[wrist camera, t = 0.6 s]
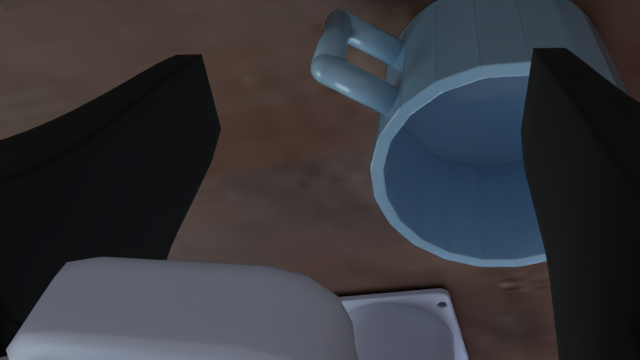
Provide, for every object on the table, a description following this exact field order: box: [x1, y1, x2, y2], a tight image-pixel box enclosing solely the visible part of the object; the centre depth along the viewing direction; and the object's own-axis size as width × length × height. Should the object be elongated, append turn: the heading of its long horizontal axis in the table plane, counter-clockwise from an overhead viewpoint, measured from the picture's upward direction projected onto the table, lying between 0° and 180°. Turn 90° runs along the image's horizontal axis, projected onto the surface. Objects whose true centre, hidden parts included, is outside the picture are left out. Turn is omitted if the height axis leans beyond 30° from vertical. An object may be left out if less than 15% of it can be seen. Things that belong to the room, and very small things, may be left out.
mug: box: [310, 0, 630, 267], centre depth 20 cm, size 11×8×6 cm
